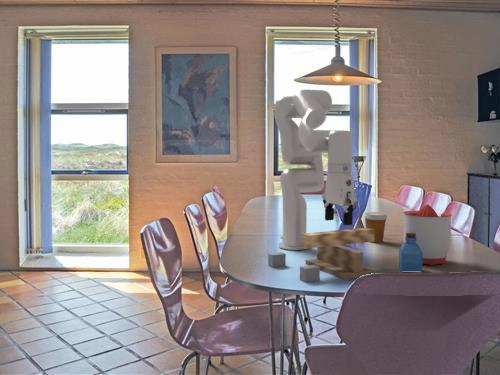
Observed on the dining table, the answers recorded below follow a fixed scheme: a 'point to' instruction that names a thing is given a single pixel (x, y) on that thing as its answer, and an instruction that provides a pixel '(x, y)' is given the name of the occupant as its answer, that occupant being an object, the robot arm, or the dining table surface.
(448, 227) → the citrus juicer
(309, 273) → the pair of grey cubes
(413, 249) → the perfume bottle
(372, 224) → the disposable coffee cup
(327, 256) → the stand
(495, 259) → the dining table surface
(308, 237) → the oak batten
